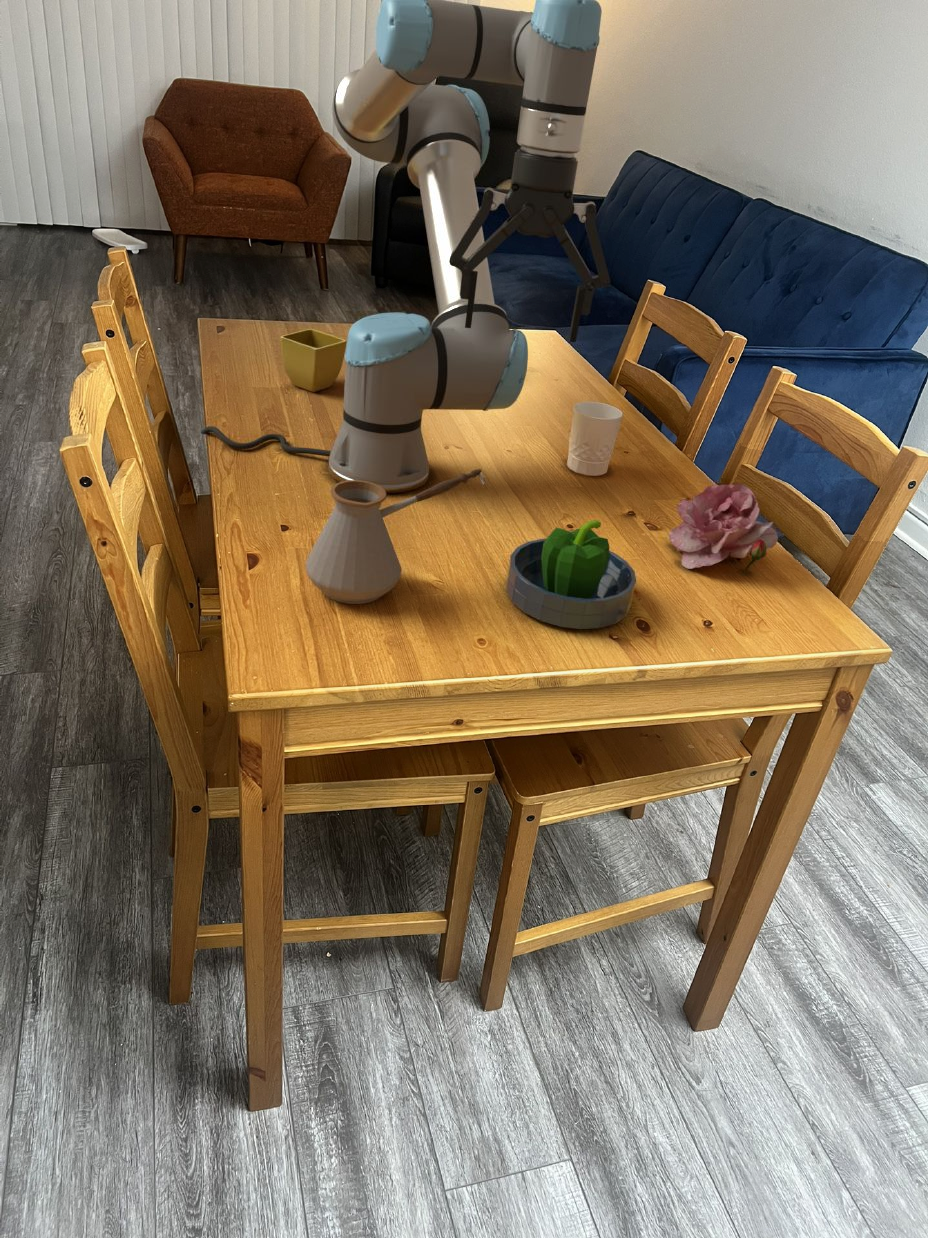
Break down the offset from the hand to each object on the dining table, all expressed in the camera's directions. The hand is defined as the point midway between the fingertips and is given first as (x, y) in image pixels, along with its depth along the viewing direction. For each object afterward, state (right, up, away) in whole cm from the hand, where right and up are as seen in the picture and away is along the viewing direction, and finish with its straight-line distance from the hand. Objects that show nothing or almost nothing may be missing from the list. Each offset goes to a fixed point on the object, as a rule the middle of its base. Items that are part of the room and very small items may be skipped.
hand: (520, 332), depth 122 cm
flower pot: (-35, +6, +52) cm, 63 cm away
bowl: (+6, -35, -4) cm, 35 cm away
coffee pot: (-16, -33, -5) cm, 37 cm away
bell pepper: (+6, -34, -4) cm, 35 cm away
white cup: (+13, -12, +34) cm, 38 cm away
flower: (+28, -29, +11) cm, 42 cm away
